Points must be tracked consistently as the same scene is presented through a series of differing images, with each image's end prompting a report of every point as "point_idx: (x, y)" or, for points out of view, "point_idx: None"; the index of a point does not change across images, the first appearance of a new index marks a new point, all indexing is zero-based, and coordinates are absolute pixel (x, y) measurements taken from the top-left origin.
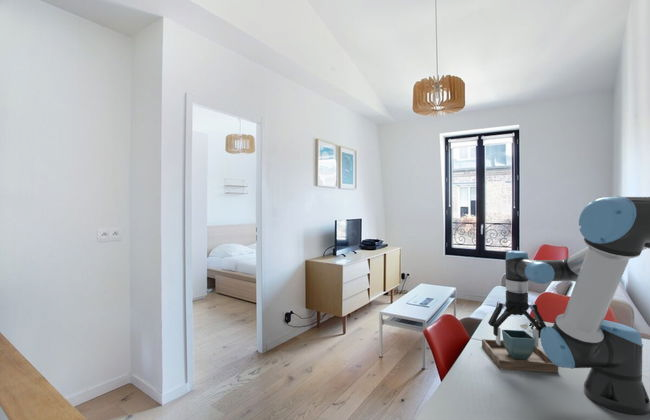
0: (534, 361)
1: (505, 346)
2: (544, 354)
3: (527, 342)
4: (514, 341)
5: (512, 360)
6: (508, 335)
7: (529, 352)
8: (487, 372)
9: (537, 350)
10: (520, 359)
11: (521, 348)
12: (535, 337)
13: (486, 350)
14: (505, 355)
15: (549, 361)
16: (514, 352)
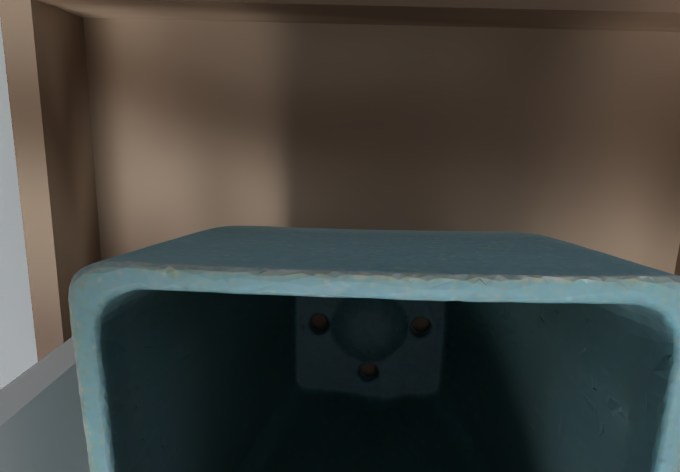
0: (225, 219)
1: (504, 437)
2: (57, 274)
3: (279, 251)
4: (569, 259)
5: (618, 9)
6: (678, 441)
7: (268, 226)
8: None
9: None
10: None
11: (393, 234)
12: (11, 455)
13: None
14: None
15: (66, 138)
16: (486, 231)
